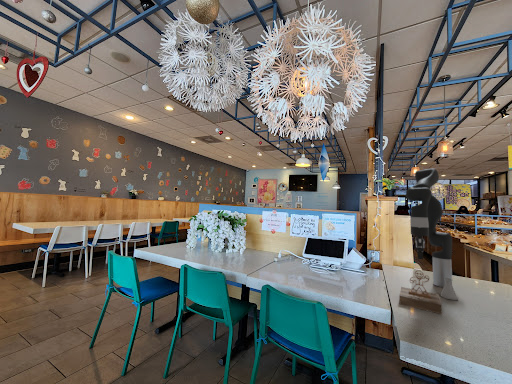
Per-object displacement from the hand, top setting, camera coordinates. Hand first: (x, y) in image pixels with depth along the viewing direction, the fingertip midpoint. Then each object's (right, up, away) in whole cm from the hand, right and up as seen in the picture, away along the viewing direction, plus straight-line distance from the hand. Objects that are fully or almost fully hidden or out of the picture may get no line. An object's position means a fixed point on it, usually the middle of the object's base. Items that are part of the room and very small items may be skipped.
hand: (420, 257), depth 112 cm
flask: (+20, -24, +6) cm, 32 cm away
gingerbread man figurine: (-2, -19, -2) cm, 19 cm away
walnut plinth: (-2, -22, -3) cm, 23 cm away
